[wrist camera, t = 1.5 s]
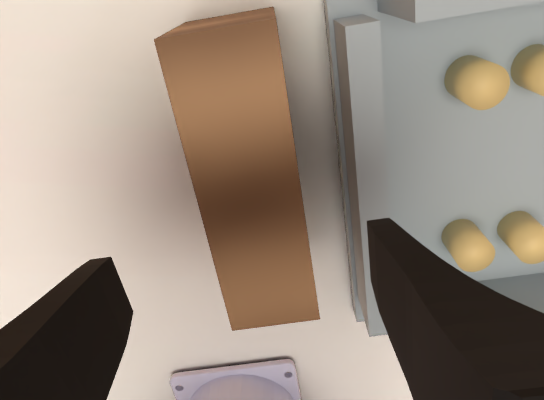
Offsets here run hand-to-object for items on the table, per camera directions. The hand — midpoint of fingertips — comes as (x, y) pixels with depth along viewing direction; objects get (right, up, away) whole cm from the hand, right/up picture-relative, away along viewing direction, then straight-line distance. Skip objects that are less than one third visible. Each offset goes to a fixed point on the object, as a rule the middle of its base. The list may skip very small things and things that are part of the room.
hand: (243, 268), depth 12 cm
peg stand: (+11, +4, +9) cm, 15 cm away
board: (0, +5, +9) cm, 10 cm away
